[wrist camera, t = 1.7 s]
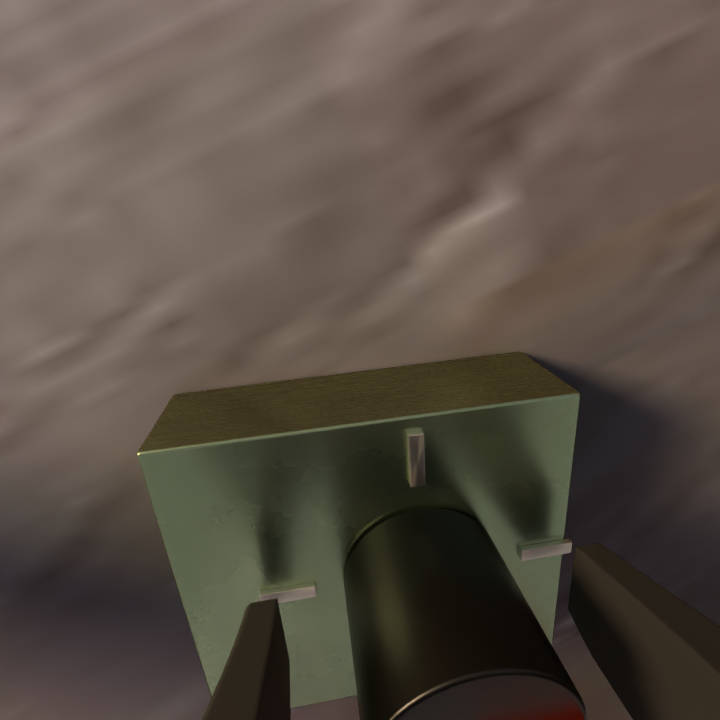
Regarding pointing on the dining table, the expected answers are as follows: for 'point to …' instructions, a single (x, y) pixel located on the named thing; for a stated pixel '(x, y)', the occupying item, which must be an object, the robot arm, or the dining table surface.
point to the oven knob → (447, 628)
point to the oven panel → (353, 492)
